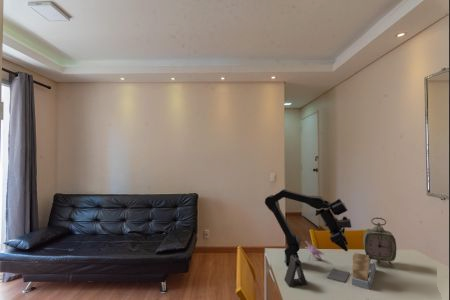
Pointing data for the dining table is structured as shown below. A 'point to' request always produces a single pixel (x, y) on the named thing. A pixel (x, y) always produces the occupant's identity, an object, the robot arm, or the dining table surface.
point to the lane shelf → (371, 274)
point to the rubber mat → (338, 275)
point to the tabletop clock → (379, 244)
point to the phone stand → (292, 268)
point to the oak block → (361, 266)
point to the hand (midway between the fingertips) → (347, 247)
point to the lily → (314, 250)
